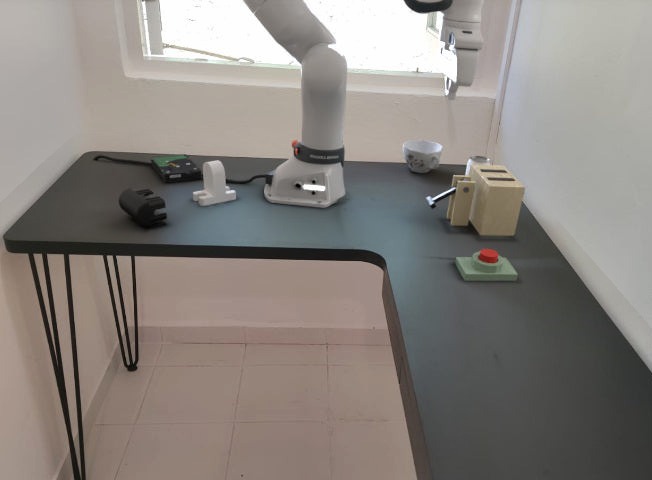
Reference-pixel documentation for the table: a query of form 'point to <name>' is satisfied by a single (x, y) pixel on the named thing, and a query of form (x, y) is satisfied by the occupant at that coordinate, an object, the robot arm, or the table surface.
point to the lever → (442, 196)
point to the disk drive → (176, 168)
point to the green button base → (485, 269)
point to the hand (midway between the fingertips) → (449, 98)
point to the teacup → (422, 155)
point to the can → (476, 162)
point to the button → (488, 256)
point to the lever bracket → (461, 200)
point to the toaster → (495, 200)
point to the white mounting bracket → (214, 185)
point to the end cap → (143, 207)
